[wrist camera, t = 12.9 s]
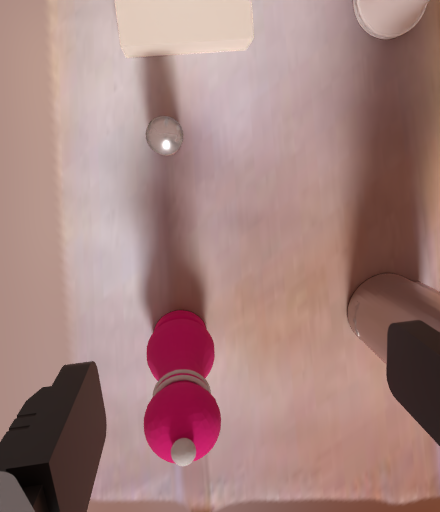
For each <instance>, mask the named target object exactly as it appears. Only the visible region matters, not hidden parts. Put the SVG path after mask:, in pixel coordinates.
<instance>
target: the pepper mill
mask: <svg viewBox="0 0 440 512" xmlns="http://www.w3.org/2000/svg"><path fill="white" fill-rule="evenodd" d="M147 362H148V366H149V368H150V370H151V372H152V374H153V376H154V377H155V378H156V379H157V381H158V382H157V384H156V386H155V388H154V391H153V398H152V399H151V401H150V402H149V404H148V406H147V409H146V412H145V417H144V432H145V436H146V440H147V442H148V444H149V446H150V447H151V449H152V450H153V452H155V453H156V454H157V455H158V456H159V457H160V458H162V459H164V460H166V461H168V462H171V463H175V464H177V465H179V466H187V465H189V464H190V463H192V462H193V461H196V460H198V459H200V458H202V457H203V456H204V455H206V454H207V453H208V452H209V451H210V450H211V449H212V448H213V446H214V444H215V443H216V441H217V438H218V436H219V432H220V426H221V416H220V410H219V407H218V405H217V403H216V400H215V398H214V397H213V396H212V395H211V391H210V387H209V384H208V382H207V381H206V380H205V378H206V377H207V375H208V374H209V372H210V370H211V368H212V365H213V362H214V343H213V340H212V337H211V336H210V334H209V332H208V331H207V330H206V326H205V324H204V322H203V321H202V319H201V318H200V317H199V316H197V315H196V314H194V313H192V312H189V311H184V310H177V311H172V312H170V313H168V314H166V315H164V316H163V317H162V318H161V319H160V320H159V321H158V323H157V324H156V326H155V329H154V333H153V334H152V335H151V337H150V339H149V342H148V345H147Z"/></svg>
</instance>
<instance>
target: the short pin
mask: <svg viewBox="0 0 440 512" xmlns="http://www.w3.org/2000/svg"><path fill="white" fill-rule="evenodd" d="M146 139H147V142H148V144H149V146H150V147H151V148H152V149H153V150H154V151H155V152H157V153H159V154H161V155H164V156H170V155H173V154H175V153H176V152H177V151H178V150H179V149H180V147H181V144H182V141H183V131H182V128H181V126H180V124H179V123H178V122H177V121H176V120H175V119H173V118H171V117H168V116H160V117H157V118H155V119H153V120H152V121H151V122H150V123H149V125H148V127H147V130H146Z"/></svg>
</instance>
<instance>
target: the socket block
mask: <svg viewBox="0 0 440 512" xmlns="http://www.w3.org/2000/svg"><path fill="white" fill-rule="evenodd" d="M114 2H115V9H116V16H117V24H118V31H119V38H120V46H121V48H122V50H123V52H124V55H125V57H126V58H134V57H150V56H165V55H180V54H196V53H211V52H226V51H242V50H247V48H248V46H249V45H250V43H251V42H252V40H253V39H254V32H253V15H252V0H114Z"/></svg>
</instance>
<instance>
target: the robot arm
mask: <svg viewBox="0 0 440 512" xmlns="http://www.w3.org/2000/svg"><path fill="white" fill-rule="evenodd" d="M348 321H349V324H350V327H351V329H352V330H353V332H354V333H355V334H356V335H357V336H358V337H359V338H360V339H361V340H362V341H363V342H364V343H365V344H366V345H367V346H368V347H369V348H370V349H371V350H372V351H373V352H374V353H375V354H376V355H377V356H378V357H379V358H380V359H381V360H382V361H383V362H384V363H386V364H387V382H388V385H389V388H390V390H391V392H392V394H393V396H394V397H395V398H396V399H397V401H398V402H399V403H400V404H401V405H402V406H403V407H404V408H405V409H406V410H407V411H408V412H409V413H410V415H411V416H412V417H413V418H414V419H415V420H416V421H417V422H418V423H419V424H420V425H421V426H422V427H423V429H424V430H425V431H426V432H427V433H428V434H429V435H430V436H431V437H432V438H433V439H434V440H435V441H436V443H437V444H438V445H439V446H440V292H439V291H437V290H435V289H433V288H431V287H429V286H427V285H425V284H423V283H421V282H419V281H416V282H413V281H411V280H409V279H407V278H405V277H403V276H400V275H397V274H390V273H386V274H380V275H376V276H373V277H371V278H370V279H368V280H366V281H365V282H364V283H362V284H361V285H360V286H359V287H358V288H357V290H356V291H355V292H354V294H353V296H352V297H351V299H350V303H349V306H348ZM105 437H106V414H105V408H104V402H103V397H102V391H101V386H100V380H99V375H98V370H97V366H96V364H95V362H94V361H92V362H84V363H76V364H68V365H64V366H63V367H62V369H61V370H60V372H59V374H58V376H57V377H56V379H55V381H54V383H53V385H52V386H50V387H43V388H41V389H40V390H39V391H38V392H37V393H35V394H34V395H33V396H32V397H30V398H29V399H28V400H27V401H26V402H25V404H24V405H23V407H22V409H21V410H20V412H19V413H18V415H17V419H15V420H14V421H13V423H12V424H11V426H10V428H9V431H8V432H6V434H5V436H4V437H3V439H2V440H1V442H0V512H87V508H88V504H89V501H90V497H91V493H92V489H93V485H94V481H95V477H96V473H97V469H98V465H99V462H100V458H101V454H102V450H103V446H104V442H105Z"/></svg>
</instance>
